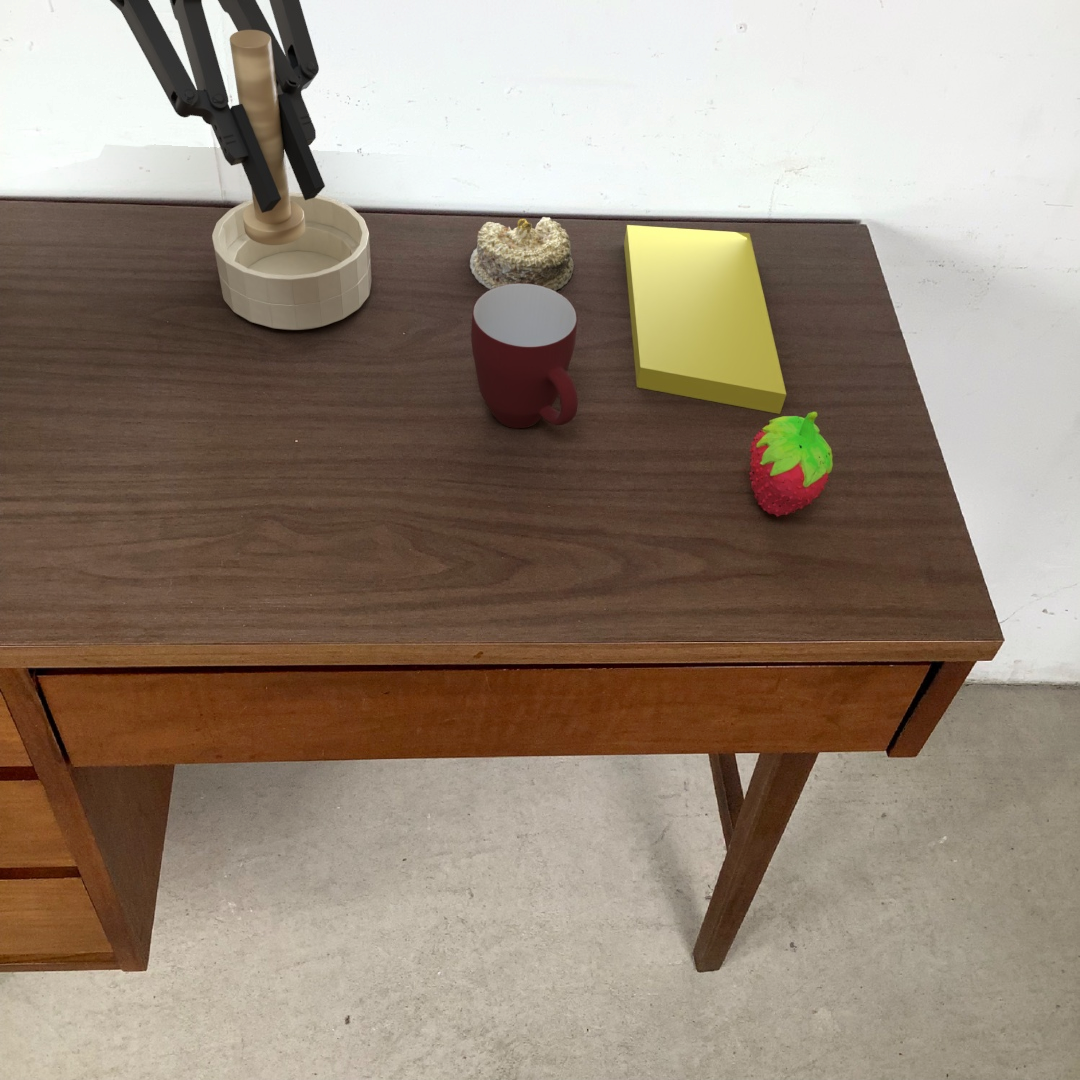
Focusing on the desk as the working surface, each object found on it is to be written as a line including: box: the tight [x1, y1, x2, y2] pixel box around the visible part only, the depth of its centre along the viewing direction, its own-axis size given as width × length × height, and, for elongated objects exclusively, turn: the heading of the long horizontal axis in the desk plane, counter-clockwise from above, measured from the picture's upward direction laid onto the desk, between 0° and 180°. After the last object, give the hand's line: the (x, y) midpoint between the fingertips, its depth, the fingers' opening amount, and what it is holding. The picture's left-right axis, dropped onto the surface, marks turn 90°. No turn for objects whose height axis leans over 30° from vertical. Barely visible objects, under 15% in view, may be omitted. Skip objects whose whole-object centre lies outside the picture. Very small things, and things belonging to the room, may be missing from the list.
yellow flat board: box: [623, 224, 787, 415], centre depth 97 cm, size 12×2×24 cm
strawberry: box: [749, 411, 834, 517], centre depth 80 cm, size 6×7×10 cm
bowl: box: [211, 192, 373, 331], centre depth 95 cm, size 13×13×6 cm
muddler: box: [229, 30, 305, 245], centre depth 74 cm, size 4×4×14 cm
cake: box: [469, 216, 575, 292], centre depth 100 cm, size 10×10×5 cm
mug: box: [470, 283, 579, 429], centre depth 84 cm, size 11×8×10 cm
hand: (293, 198), depth 74 cm, fingers closed on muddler, 3 cm apart
